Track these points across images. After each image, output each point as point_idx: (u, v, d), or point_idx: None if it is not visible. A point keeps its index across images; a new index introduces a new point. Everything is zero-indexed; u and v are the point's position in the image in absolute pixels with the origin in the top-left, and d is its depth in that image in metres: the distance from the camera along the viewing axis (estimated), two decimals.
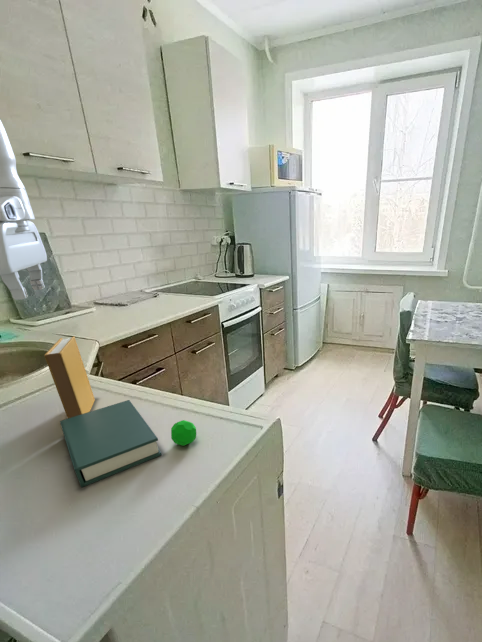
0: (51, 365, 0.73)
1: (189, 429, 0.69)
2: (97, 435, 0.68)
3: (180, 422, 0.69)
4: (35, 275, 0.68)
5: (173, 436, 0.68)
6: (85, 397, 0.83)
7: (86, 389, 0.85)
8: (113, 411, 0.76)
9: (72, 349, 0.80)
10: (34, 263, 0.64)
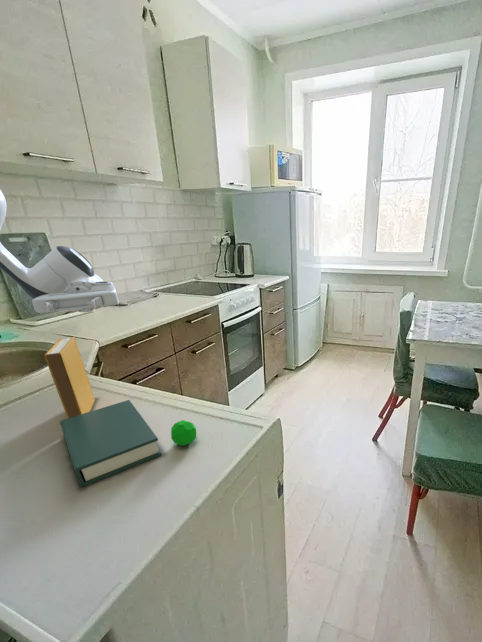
0: (51, 365, 0.73)
1: (189, 429, 0.69)
2: (97, 435, 0.68)
3: (180, 422, 0.69)
4: None
5: (173, 436, 0.68)
6: (85, 397, 0.83)
7: (86, 389, 0.85)
8: (113, 411, 0.76)
9: (72, 349, 0.80)
10: (71, 309, 0.93)
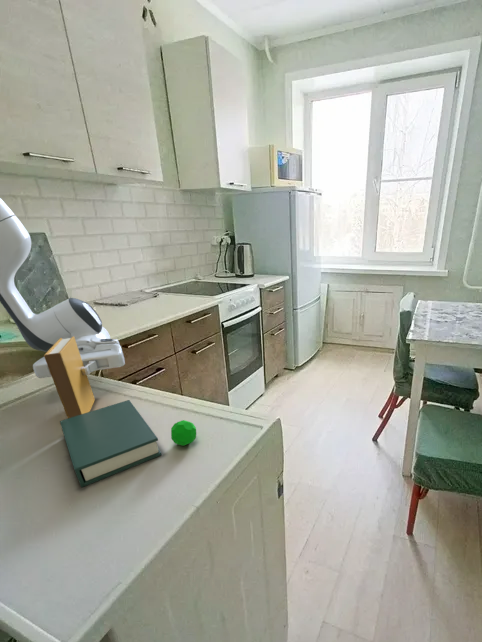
0: (51, 365, 0.73)
1: (189, 428, 0.69)
2: (97, 435, 0.68)
3: (180, 422, 0.69)
4: None
5: (173, 436, 0.68)
6: (85, 397, 0.83)
7: (86, 389, 0.85)
8: (113, 411, 0.76)
9: (72, 349, 0.80)
10: None
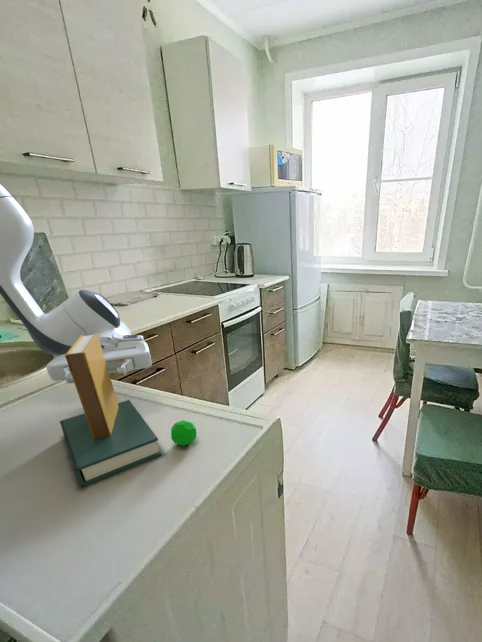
0: (73, 367, 0.60)
1: (189, 429, 0.69)
2: None
3: (180, 422, 0.69)
4: None
5: (173, 436, 0.68)
6: (110, 404, 0.71)
7: (110, 395, 0.73)
8: None
9: (95, 348, 0.68)
10: None
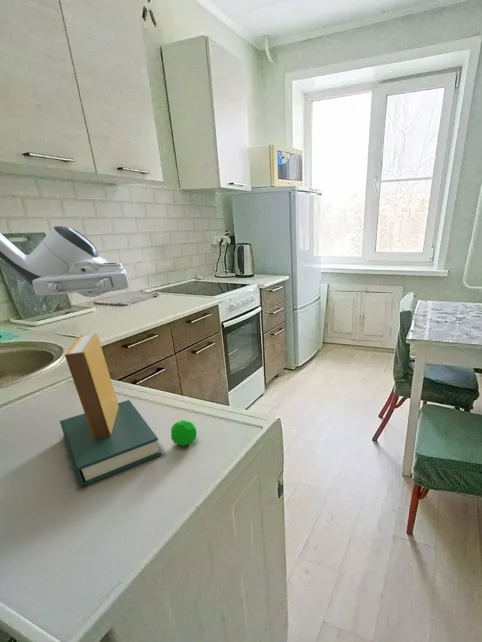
0: (73, 367, 0.60)
1: (189, 429, 0.69)
2: None
3: (180, 422, 0.69)
4: None
5: (173, 436, 0.68)
6: (110, 404, 0.71)
7: (110, 395, 0.73)
8: None
9: (95, 348, 0.68)
10: (76, 292, 0.83)
